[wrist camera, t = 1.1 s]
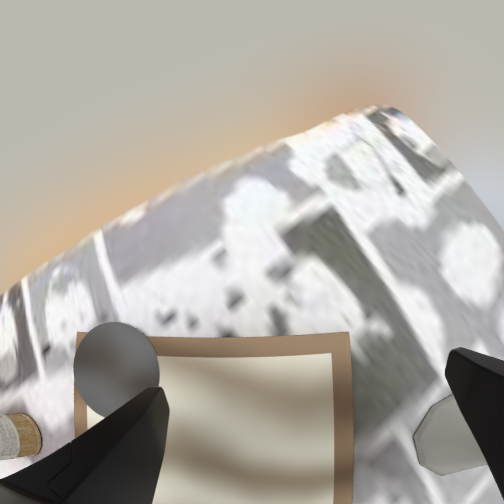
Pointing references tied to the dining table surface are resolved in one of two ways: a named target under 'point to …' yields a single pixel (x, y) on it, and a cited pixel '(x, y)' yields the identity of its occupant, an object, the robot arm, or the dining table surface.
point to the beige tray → (232, 411)
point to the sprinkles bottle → (18, 436)
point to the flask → (447, 440)
